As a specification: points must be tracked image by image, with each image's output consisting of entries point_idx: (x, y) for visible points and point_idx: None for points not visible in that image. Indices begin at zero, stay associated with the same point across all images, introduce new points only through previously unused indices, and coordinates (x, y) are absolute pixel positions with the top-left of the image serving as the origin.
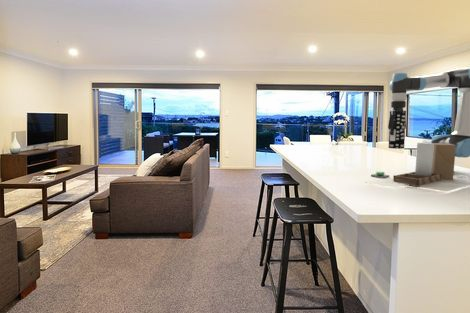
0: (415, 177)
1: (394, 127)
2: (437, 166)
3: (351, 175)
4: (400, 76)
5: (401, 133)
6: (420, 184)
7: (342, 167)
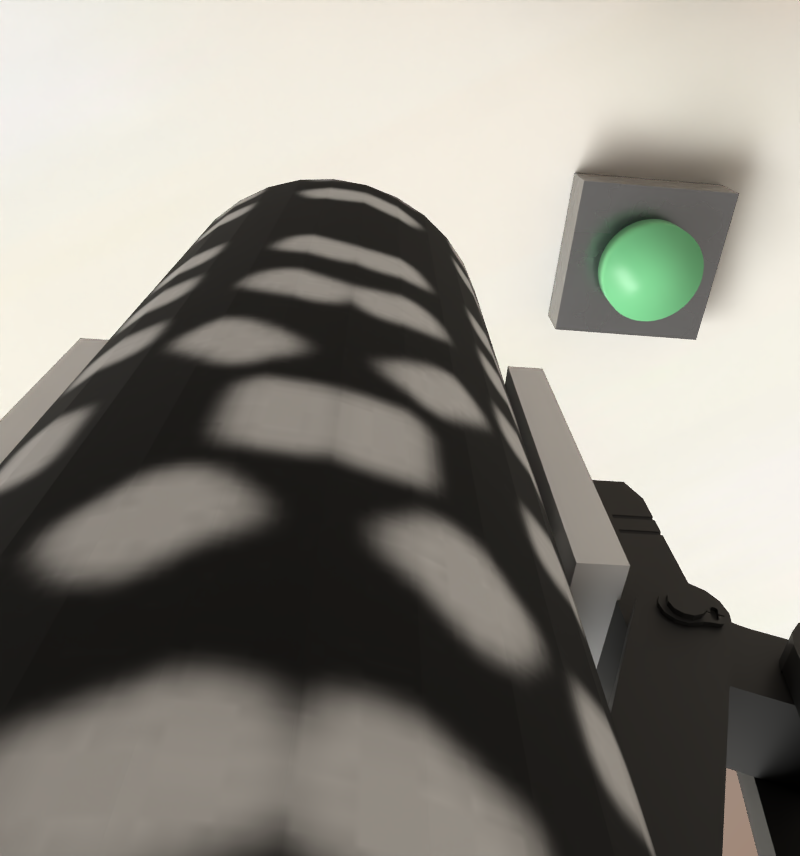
0: None
1: (691, 638)
2: None
3: (651, 511)
4: None
5: (422, 334)
6: None
7: None
